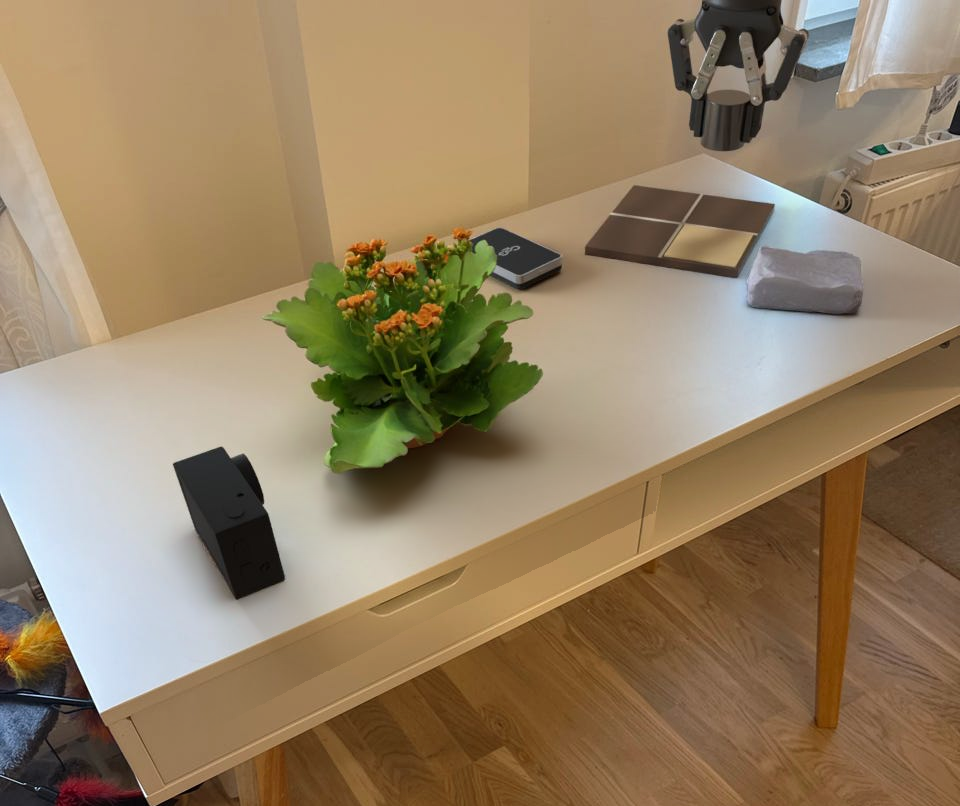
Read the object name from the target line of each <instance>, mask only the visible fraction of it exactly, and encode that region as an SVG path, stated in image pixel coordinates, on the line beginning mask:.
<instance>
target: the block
mask: <svg viewBox="0 0 960 806" xmlns="http://www.w3.org/2000/svg"><path fill="white" fill-rule="evenodd" d="M756 253H757V254H756V256H755V258H754V261H753V264H752V267H751V269H750V272H749V275H748V276H747V280H746V283H745V284H746V286H747V293H746V301H747V304H748V306H750V307H752V308H757V309H768V310H770V309H771V310H784V311H797V312H806V313H807V312H808V313H810V312H818V313H823V314H831V315H841V314H855V313H856V312H857V311H858V310H859V309H860V308H861V307H862V304H863V299H864V298H863V297H864V283H863V277H862V260H861V258H860V257H859V256H856V255H854V253H849V252H846V251H833V250H827V249H826V250H824V249H823V250H822V249H816V250H811V251H808V252H799V251H792V250H788V249H784V248H776V247H769V246H766V245H764V246H763V245H761V246H760V247H759V248H758V251H757V252H756Z"/></svg>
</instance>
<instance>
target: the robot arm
mask: <svg viewBox="0 0 960 806" xmlns="http://www.w3.org/2000/svg"><path fill="white" fill-rule="evenodd" d="M782 2H783V0H701V6H700V10H699V12H698V14H697V15H696V17H695V18H693V19H688V20H684V19H683V18H678V19H677V20H675V22H674V23H673V24H672V25H670V27H669V28H668V29H667V41H668V45H669V54H670V59H671V67H672V74H673V81H674V87H675V89H676V90H677V91H679V92H682V91H683V92H685V93H687V94H688V95H689V96H690V99H691V102H690V112H689V120H688V121H689V122H688V128H689V130H690V131H692V132H693V137H694V138H701V134H702V125H703V117H704V108H705V99H706V96H707V94H708V89H709V87H710V85H711V83H712V81H713V79H714V76H715V74H716V72H717V69H718V68H719V67H720V68H723V67H729V66H732V67H734V68H736V69H741V70H742V69H743V70H744V76H745V82H746V83H747V86H748V92H749V93H748V94H749V95H750V100H751V102H750V103H749V104H748V106H747V112H746V119H745V126H744V133H743V140H742V142H743V143H745V144H750V143H751V142H752V140H753V138H754V139H756V137H757V135H759V133H760V130H761V128H762V125H763V117H764V111H765V110H764V109H765V105H766V103H767V102H770V101H773V102H776V101H779V100H780V99H781V97H783V94H784V92H785V91H786V90H787V88H788V85H789V83H790V81H791V78H792V76H793V74H794V72H795V69H796V67H797V65H798V62H799V61H800V58H801V55H802V53H803V51H804V48H805V46H806V44H807V41H808V39H809V36H810V33H809V31H808V29H806V28H800V29H799V30H798V29H795V28H793V27H790V26H788V25H786V24H784V18H783V16H782ZM694 33H696V34H697V37H698V39H699V42H701V43H700V44H701V45H702V47H703V49H704V51H705V56H704V58H703V61H702V63H701V66H700V68H699V70H698V73H697V76H696V75H694V74H693V66H692V58H691V52H690V44H691V43H692V42H693V40H694ZM777 39H779V41H780V53H781V54H782V55H784V58H783V60H782V61H781V65H780V67H779V69H778V71H777V73H776V76H775V79H774V81H773V82H771V83H768V79H767V64H766V63H767V62H766V56H765V53H766V51H767V50H768V49H769V48H770V47H771V46H772V44H773V43H775V41H776V40H777Z"/></svg>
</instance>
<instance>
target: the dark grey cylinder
mask: <svg viewBox="0 0 960 806" xmlns="http://www.w3.org/2000/svg"><path fill="white" fill-rule="evenodd" d="M750 102H751V100H750V93H748V92H745V91H743V90H738V89H719V90H718V89H717V90H714V91H711V92H708V93H707V96H706V99H705V108H704V117H703V125H702V134H701V137H700V146H702V147H703V148H705V149H706V150H710V151H715V152H733V151H737V150H739V149H741V148H743V147H744V146H745V145H746V143H743V142H742V140H743V133H744V126H745V119H746V112H747V106H748V104H749V103H750Z"/></svg>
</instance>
